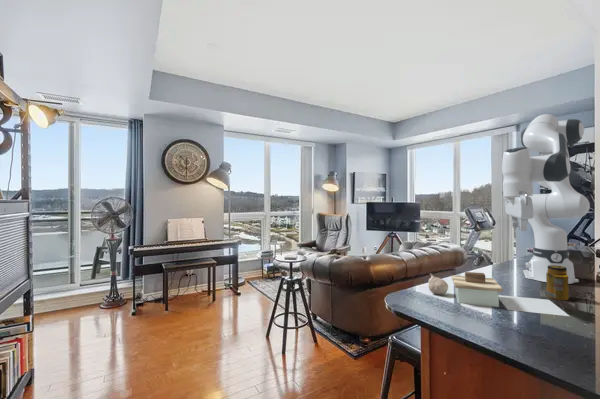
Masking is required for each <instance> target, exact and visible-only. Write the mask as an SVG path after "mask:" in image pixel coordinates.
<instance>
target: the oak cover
mask: <svg viewBox="0 0 600 399" xmlns="http://www.w3.org/2000/svg"><path fill="white" fill-rule="evenodd" d="M451 281H452V283H453V285H454V289H455V288H463V289H474V290H486V291H497V292H500V293H504V288H502V286H501V285H500V284H499V283H498V282H497V281H496V280H495V279H494V278H493V277H492V278H491V277H486V274H485V273H484V272H472V271H464V276H463V275H462V276H461V275H451Z"/></svg>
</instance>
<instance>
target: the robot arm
mask: <svg viewBox="0 0 600 399" xmlns="http://www.w3.org/2000/svg"><path fill="white" fill-rule="evenodd" d="M584 132H585V126H584V125H583V123H582V121H581V120H579V119H577V118H575V119H574V118H572V119H571V118H570V119H569V118H568V119H567V120H566V119H565V120H559V119H558V118H557V116H555V115H553V114H551V113H550V114H549V113H545V114H544V113H543V114H540V115H538V116H536V117H534V118H533V119H532V120H531V121H530V122H529V124H528V125H527V127H526V128H524V129H523V130H522V131H521V134H520V143H521V145H522V146H520V147H514V148H509V149H507V150H505V151H504V152H503V154H502V155H503V156H502V161H501V173H502V177H503V181H502V191H501V196H502V197H503V201H504V202H503V203H504V211H505V213H506V215H508V216H510V221H511V227H512V228H517V229H518V228H519V231H520V232H526V231H528V227H527V226H528V223H529V224H530V226H531V228H532V231H533V236H534V247H533V250H532V254H533V255H532V257H531V258H530V260H529V261H528V262H525V268H528V269H523V274H524V277H525V279H529V280H535V281H537V282H543V283H546V273H547V272H548V271H547V270H548V268H547V267H548V266H549V265H556V266H563V267H566V268H567V275H568V285H569V284H570V285H571V284H574V283H579V282H580V281H579V279H578V278H576V276H575V268H574V263H573V262H572V261H571V260H570V259H569V258H570V251H569V249H568V234H567V232H566V231H565V230H564V229H563V228H562V227H559V226H557V225H555V224H553V223H551V221H550V219H575V218H582V217H584V216H586V215H587V213H588V212H589V211H590V208H591V205H590V201H589V199H588V198H587V197H586V196H584V195H583V194H581V193H580V192H578V191H577V190H576V189H575V188H573V186H572V185H571V183H570V174H571V169H572V167H571V162H570V155H569V154H570V153H569V149H568V146H569V148H571V149H572V148H573V147H574V146H575V145H577V144H578V143H579V142H580V141H581V140H582V139H583V136H584ZM531 151H532V152H535V153H536V152H537V153H540V154H539V155H537V156H531ZM533 183H537V184H538V185H539V186H541V187H543V188H545V189H549V190H551V192H550V193H534V186H533V185H534V184H533Z"/></svg>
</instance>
